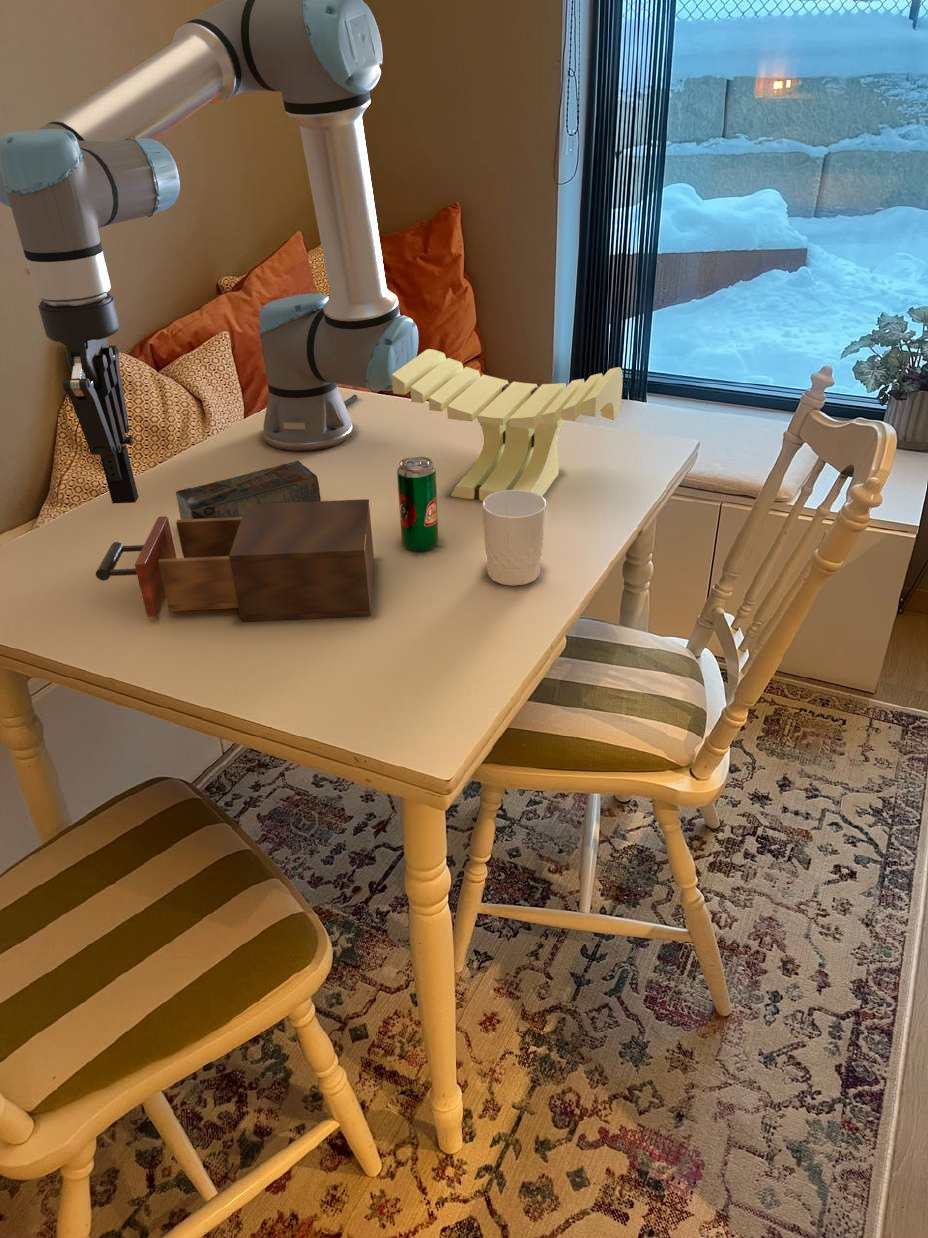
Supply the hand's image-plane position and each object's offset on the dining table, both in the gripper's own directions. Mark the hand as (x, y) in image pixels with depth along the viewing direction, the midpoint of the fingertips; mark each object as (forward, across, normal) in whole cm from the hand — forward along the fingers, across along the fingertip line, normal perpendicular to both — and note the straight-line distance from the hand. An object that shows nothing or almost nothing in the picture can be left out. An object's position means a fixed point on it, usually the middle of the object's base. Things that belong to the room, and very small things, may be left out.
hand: (125, 500), depth 111 cm
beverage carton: (+14, -20, +10) cm, 26 cm away
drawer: (+12, +1, +6) cm, 14 cm away
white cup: (+14, -2, +46) cm, 48 cm away
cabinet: (+13, 0, +20) cm, 24 cm away
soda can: (+14, -11, +34) cm, 39 cm away
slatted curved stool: (+14, -30, +48) cm, 59 cm away
